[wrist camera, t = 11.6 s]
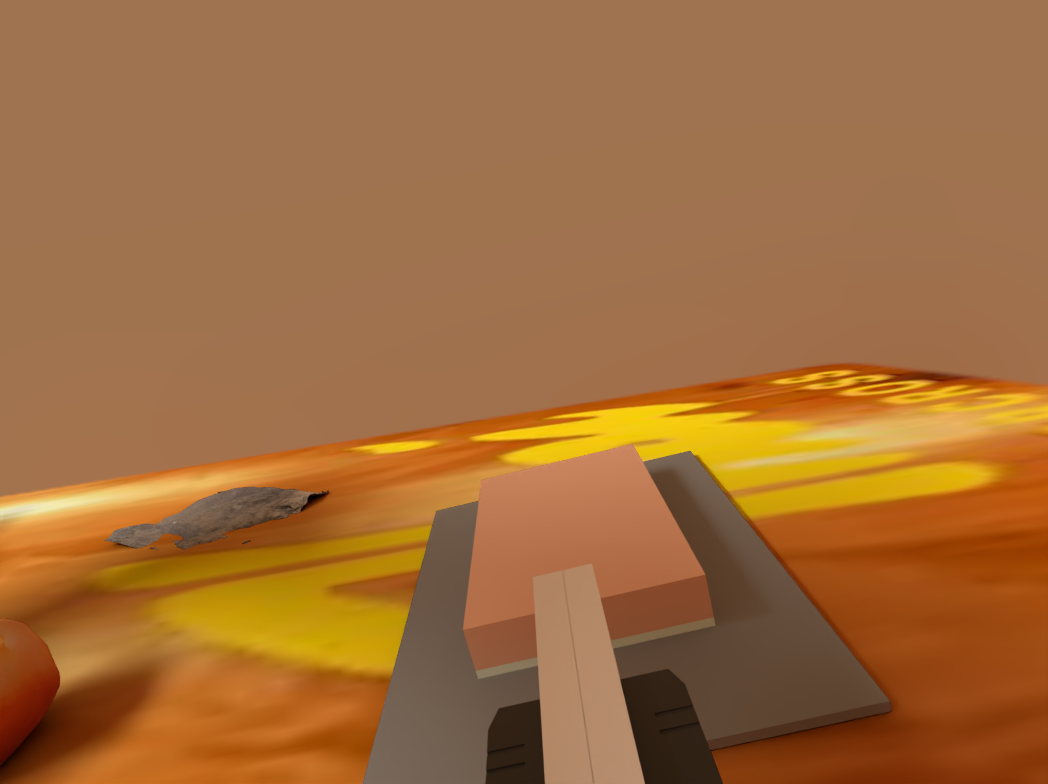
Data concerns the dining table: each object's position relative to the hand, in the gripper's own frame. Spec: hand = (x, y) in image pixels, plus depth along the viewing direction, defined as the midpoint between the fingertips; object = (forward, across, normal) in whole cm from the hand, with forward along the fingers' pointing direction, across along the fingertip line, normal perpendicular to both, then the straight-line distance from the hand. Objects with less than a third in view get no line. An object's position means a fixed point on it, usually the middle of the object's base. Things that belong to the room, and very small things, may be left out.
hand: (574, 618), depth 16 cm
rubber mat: (+15, 0, -8) cm, 17 cm away
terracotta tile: (+9, 0, -6) cm, 11 cm away
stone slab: (+38, -30, -9) cm, 49 cm away
